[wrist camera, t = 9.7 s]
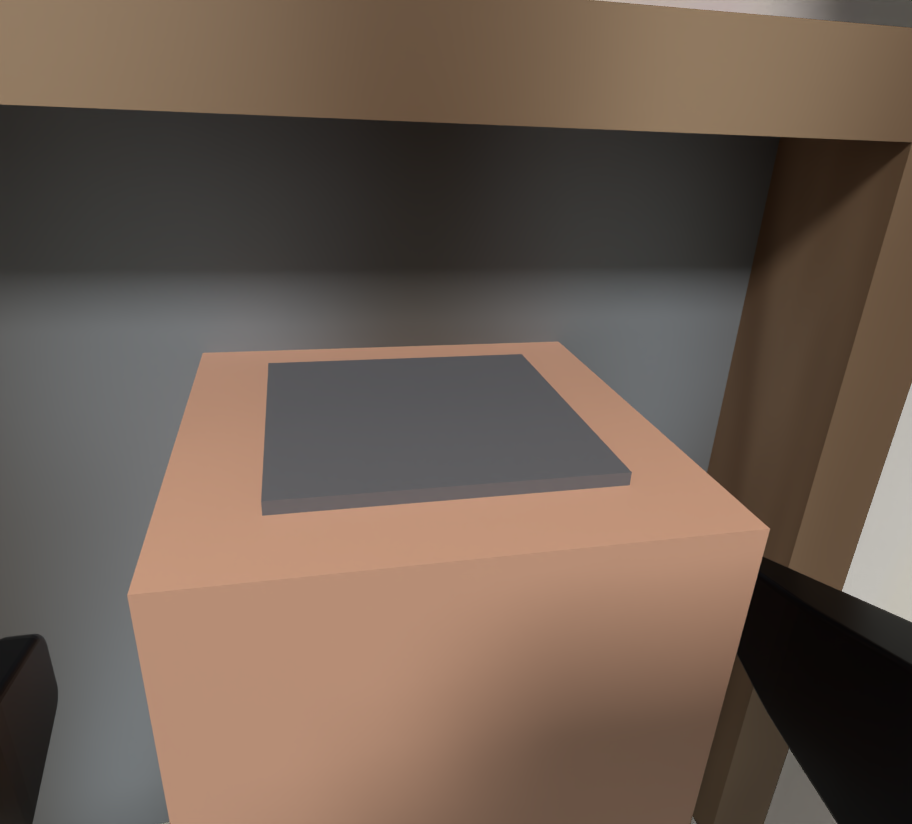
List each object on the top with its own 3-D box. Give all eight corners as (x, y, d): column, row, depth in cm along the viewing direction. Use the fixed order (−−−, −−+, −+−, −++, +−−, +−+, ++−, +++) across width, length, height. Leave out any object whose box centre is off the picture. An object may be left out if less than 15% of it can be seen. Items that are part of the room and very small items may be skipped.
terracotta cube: (529, 610, 13) (669, 900, 9) (235, 645, 12) (204, 1008, 7) (559, 332, 11) (774, 514, 6) (201, 342, 10) (123, 578, 5)
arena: (31, 822, 13) (-31, 1000, 11) (-233, -28, 8) (-504, -95, 5) (684, 714, 17) (760, 831, 14) (844, 52, 11) (1027, 38, 8)
